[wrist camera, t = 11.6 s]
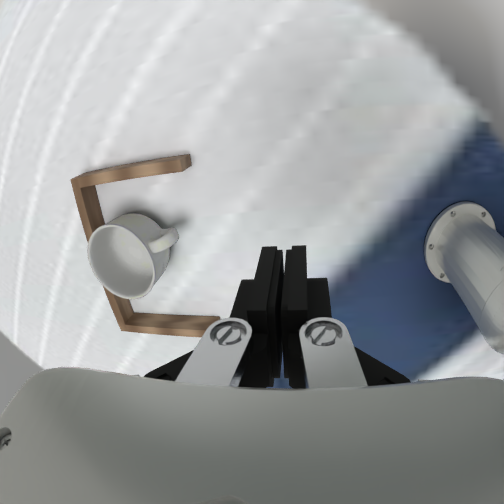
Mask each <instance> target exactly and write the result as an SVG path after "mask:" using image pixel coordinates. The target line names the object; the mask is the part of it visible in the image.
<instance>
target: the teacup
mask: <svg viewBox="0 0 504 504" xmlns="http://www.w3.org/2000/svg"><path fill="white" fill-rule="evenodd" d="M178 239H179V234H178V232H177V231H176V229H175V228H167V229H161V228H160V226H159V225H158V224H157V223H156V222H155V221H153V220H152V219H150V218H148V217H147V216H144V215H141V214H133V213H132V214H125V215H122V216H120V217H118V218H116V219H114V220H112V221H110V222H108V223H107V224H105V225H103V226H100V227H99V228H97V229H96V230H95V231H94V232H93V233H92V235H91V237H90V239H89V242H88V250H87V252H88V259H89V263H90V266H91V268H92V271H93V273H94V275H95V276H96V278H97V279H98V280H99V282H100V283H101V284H102V285H103V286H104V287H105V288H106V289H107V290H108V291H110V292H111V293H113V294H115V295H117V296H119V297H121V298H125V299H139V298H141V297H144V296H145V295H147V294H148V293H149V292H150V291H151V289H152V287H153V285H154V284H155V283H156V282H157V281H158V279H159V278H160V277H161V275H162V274H163V272H164V271H165V269H166V267H167V265H168V261H169V256H170V249H169V247H171V246H172V245H173V244H174V243H176V242H177V241H178Z"/></svg>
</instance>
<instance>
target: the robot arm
mask: <svg viewBox="0 0 504 504" xmlns="http://www.w3.org/2000/svg"><path fill="white" fill-rule="evenodd" d="M424 256H425V261H426V264H427V266H428V268H429V269H430V271H431V273H432V274H433V275H434V276H435V277H436V278H438V279H439V280H441V281H443V282H447V283H451V284H452V285H453V287H454V288H455V290H456V291H457V293H458V294H459V296H460V298H461V299H462V301H463V302H464V304H465V306H466V307H467V309H468V311H469V312H470V314H471V316H472V317H473V319H474V321H475V322H476V324H477V326H478V328H479V329H480V331H481V333H482V334H483V336H484V338H485V340H486V341H487V343H488V344H489V345H490V346H491V348H492V349H494V350H495V351H497V352H498V353H501V354H504V238H503V237H502V236H501V235H500V234H499V233H498V232H496V228H495V224H494V221H493V219H492V216H491V215H490V214H489V212H488V211H487V210H486V209H484V208H483V207H482V206H480V205H479V204H477V203H473V202H459V203H456V204H453V205H451V206H449V207H448V208H446V209H445V210H443V211H442V212H441V213H440V214H439V215H438V216H437V218H436V219H435V220H434V222H433V223H432V225H431V227H430V228H429V230H428V233H427V236H426V239H425V244H424ZM282 352H283V361H284V378H289V386H291V387H292V388H293V389H280V388H266V387H273V384H274V378H280V372H281V362H282ZM0 504H504V379H503V380H500V379H494V378H488V377H455V378H446V379H438V380H419V379H418V382H410V380H409V379H408V378H406V377H405V376H404V375H402V374H400V373H399V372H397V371H395V370H393V369H392V368H390V367H388V366H387V365H385V364H383V363H381V362H380V361H378V360H376V359H375V358H373V357H371V356H370V355H368V354H366V353H365V352H363V351H361V350H359V349H358V348H356V347H354V346H353V343H352V340H351V338H350V335H349V332H348V330H347V328H346V326H345V325H344V324H343V323H341V322H340V321H338V320H336V319H333V318H332V316H331V306H330V297H329V289H328V281H327V278H307V262H306V245H304V246H292V250H286V260H285V271H284V266H283V252H282V250H277V246H271V247H262V250H261V254H260V258H259V262H258V266H257V270H256V274H255V278H254V279H250V280H242V281H241V283H240V286H239V289H238V293H237V296H236V299H235V302H234V305H233V309H232V312H231V315H230V318H225V319H221V320H218V321H216V322H214V323H213V324H211V325H210V326H209V327H208V328H207V330H206V331H205V333H204V335H203V336H202V338H201V340H200V341H199V343H198V344H197V346H196V348H195V349H194V350H193V351H191V352H189V353H187V354H185V355H183V356H181V357H179V358H177V359H175V360H173V361H171V362H169V363H167V364H165V365H163V366H161V367H159V368H157V369H155V370H153V371H151V372H149V373H148V374H146V375H145V376H144V377H140V376H139V375H127V374H121V373H115V372H108V371H102V370H96V369H90V368H80V367H58V368H51V369H46V370H43V371H40V372H37V373H36V374H34V375H33V376H32V377H30V378H29V379H28V380H27V381H26V382H25V383H24V384H23V386H22V387H21V388H20V389H19V390H18V392H17V393H16V394H15V395H14V397H13V398H12V399H11V401H10V402H9V403H8V405H7V406H6V408H5V409H4V411H3V412H2V414H1V415H0Z"/></svg>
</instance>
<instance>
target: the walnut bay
mask: <svg viewBox="0 0 504 504" xmlns="http://www.w3.org/2000/svg"><path fill="white" fill-rule="evenodd" d="M190 166H191V159H190V154H187V155H180V156H173V157H167V158H160V159H154V160H148V161H142V162H136V163H131V164H125V165H120V166H115V167H110V168H105V169H100V170H95V171H91V172H86V173H83V174H81V175H79V176H77V177H75V178H73V179H71V183H72V187H73V192H74V195H75V199H76V203H77V207H78V211H79V214H80V218H81V221H82V225H83V228H84V231H85V235H86V238H87V241H88V242H89V239H90V237H91V235H92V233H93V232H94V231H95V230H96V229H97V228H99V227H100V226H103V225H105V223H104V220H103V216H102V212H101V208H100V204H99V200H98V196H97V192H96V188H95V185H98V184H103V183H109V182H115V181H121V180H127V179H133V178H140V177H146V176H153V175H160V174H168V173H176V172H182V171H184V170H185V169H187V168H188V167H190ZM103 287H104V286H103ZM104 290H105V292H106V295H107V298H108V300H109V303H110V305H111V308H112V310H113V313H114V315H115V317H116V320H117V322H118V324H119V327H120V329H121V331H128V332H138V333H148V334H160V335H173V336H188V337H202V336H203V335H204V333H205V331H206V330H207V328H208V327H209V326H210V325H211V324H213V323H214V322H216V321H218V320H220V317H219V316H188V315H166V314H148V313H134V312H133V309H132V307H131V304H130V301H129V299H125V298H121V297H119V296H117V295H115V294H113V293H111V292H110V291H108V290H107V289H106V288H105V287H104Z"/></svg>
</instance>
